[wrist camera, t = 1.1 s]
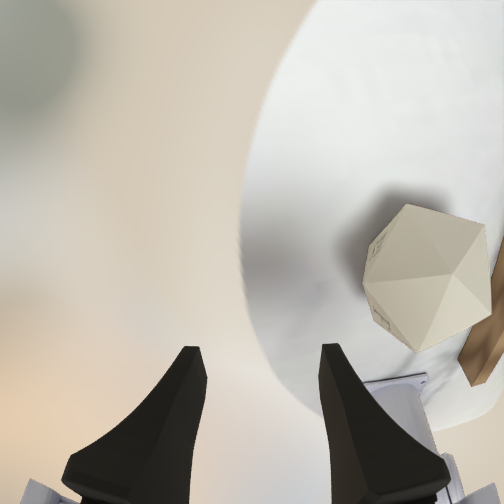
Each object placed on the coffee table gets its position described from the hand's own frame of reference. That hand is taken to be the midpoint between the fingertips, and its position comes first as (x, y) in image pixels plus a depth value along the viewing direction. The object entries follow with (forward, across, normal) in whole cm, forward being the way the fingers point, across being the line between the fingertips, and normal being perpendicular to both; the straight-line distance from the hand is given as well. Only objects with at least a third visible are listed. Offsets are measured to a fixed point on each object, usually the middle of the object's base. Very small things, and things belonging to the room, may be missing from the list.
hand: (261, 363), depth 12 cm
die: (+10, -10, 0) cm, 14 cm away
